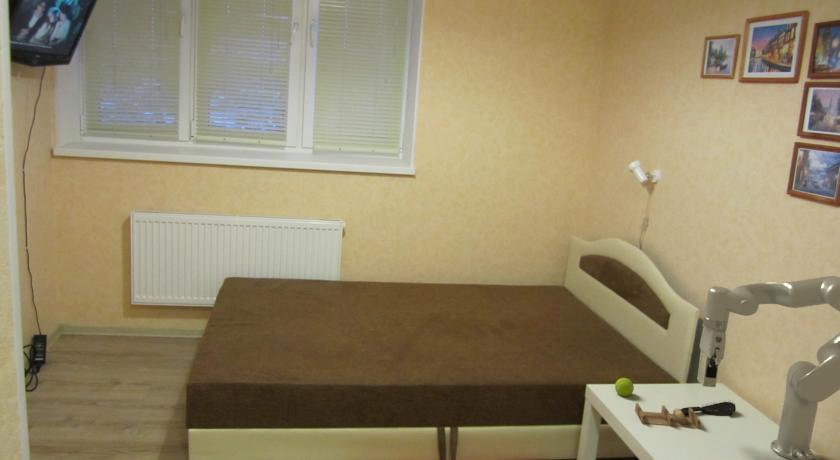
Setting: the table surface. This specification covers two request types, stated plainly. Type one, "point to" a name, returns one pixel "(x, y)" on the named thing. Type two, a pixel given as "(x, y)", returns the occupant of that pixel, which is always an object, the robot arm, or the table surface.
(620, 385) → the tennis ball
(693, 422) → the rack
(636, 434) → the table surface
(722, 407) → the hairbrush
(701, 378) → the skincare box
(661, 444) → the table surface
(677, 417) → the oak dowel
